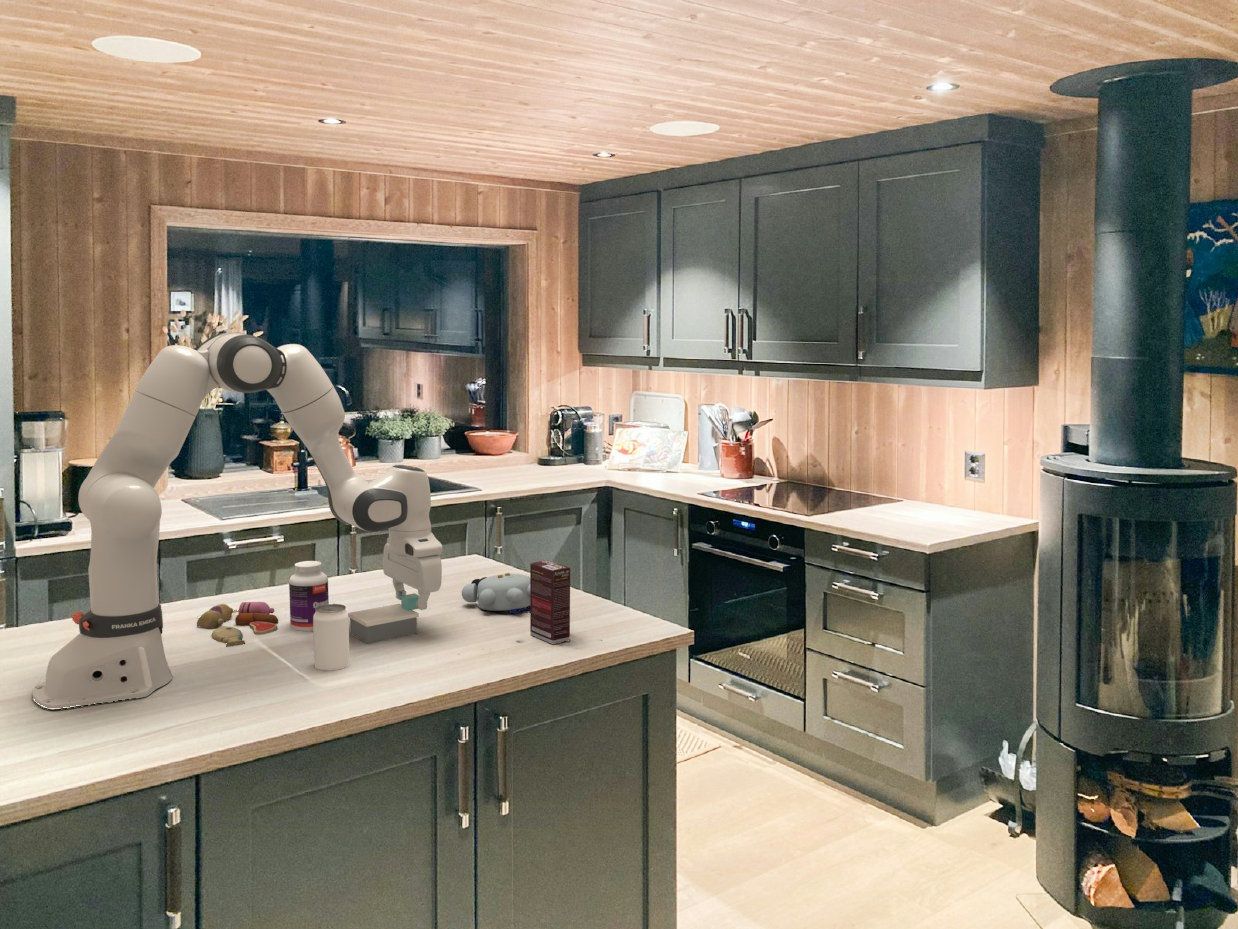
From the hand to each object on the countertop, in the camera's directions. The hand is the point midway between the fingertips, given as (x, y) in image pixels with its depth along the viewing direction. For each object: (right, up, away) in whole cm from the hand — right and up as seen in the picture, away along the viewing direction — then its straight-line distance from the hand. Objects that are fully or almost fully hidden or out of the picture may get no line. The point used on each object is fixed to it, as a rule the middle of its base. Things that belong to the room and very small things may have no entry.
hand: (411, 604), depth 216 cm
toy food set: (-38, -6, +4) cm, 38 cm away
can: (-11, -10, -22) cm, 26 cm away
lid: (-4, -3, -3) cm, 6 cm away
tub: (-5, -7, -3) cm, 9 cm away
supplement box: (+30, -7, -2) cm, 31 cm away
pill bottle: (-22, -6, +2) cm, 23 cm away
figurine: (+17, -4, +22) cm, 28 cm away
